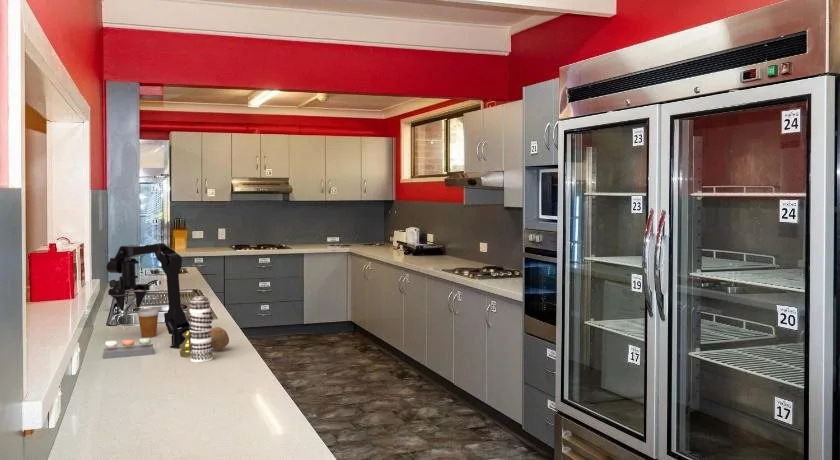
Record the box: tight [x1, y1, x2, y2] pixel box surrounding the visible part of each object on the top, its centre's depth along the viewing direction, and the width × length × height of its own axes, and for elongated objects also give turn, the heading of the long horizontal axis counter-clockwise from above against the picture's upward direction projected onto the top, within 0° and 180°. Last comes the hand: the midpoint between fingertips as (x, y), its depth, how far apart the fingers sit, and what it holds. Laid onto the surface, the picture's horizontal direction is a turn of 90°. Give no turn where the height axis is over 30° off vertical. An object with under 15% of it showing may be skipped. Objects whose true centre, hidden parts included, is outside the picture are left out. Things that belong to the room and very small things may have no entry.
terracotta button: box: [121, 338, 135, 347], centre depth 314 cm, size 4×4×2 cm
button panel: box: [102, 343, 155, 360], centre depth 314 cm, size 19×9×2 cm, turn 110°
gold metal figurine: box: [179, 331, 192, 358], centre depth 310 cm, size 7×8×10 cm
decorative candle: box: [187, 295, 214, 363], centre depth 302 cm, size 9×9×25 cm
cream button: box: [104, 339, 118, 348], centre depth 311 cm, size 4×4×2 cm
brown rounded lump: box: [211, 326, 230, 352], centre depth 318 cm, size 9×9×10 cm
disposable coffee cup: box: [136, 308, 160, 338], centre depth 350 cm, size 10×10×12 cm
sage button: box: [138, 337, 152, 345], centre depth 316 cm, size 4×4×2 cm
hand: (130, 308), depth 338 cm, fingers open, 9 cm apart
